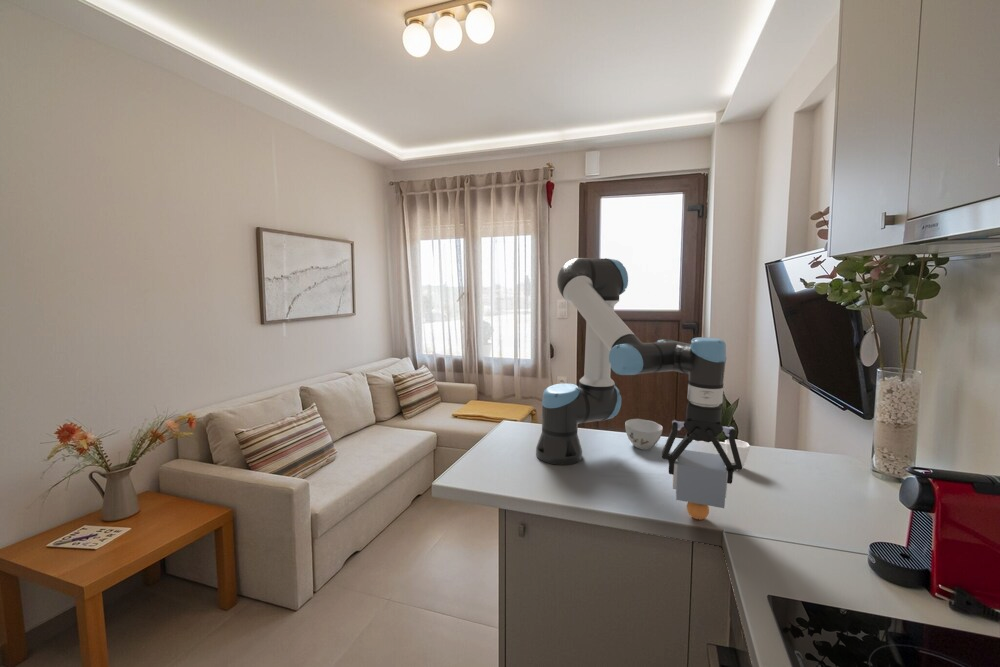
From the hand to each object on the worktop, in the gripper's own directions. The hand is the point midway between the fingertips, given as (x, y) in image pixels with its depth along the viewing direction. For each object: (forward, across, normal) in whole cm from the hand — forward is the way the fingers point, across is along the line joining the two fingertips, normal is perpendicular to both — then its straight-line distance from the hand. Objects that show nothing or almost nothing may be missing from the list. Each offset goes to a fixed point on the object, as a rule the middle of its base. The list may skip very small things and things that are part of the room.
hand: (698, 490), depth 104 cm
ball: (+5, 0, 0) cm, 5 cm away
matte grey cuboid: (+1, 0, 0) cm, 1 cm away
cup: (+7, +12, +36) cm, 39 cm away
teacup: (+7, -14, +43) cm, 46 cm away
